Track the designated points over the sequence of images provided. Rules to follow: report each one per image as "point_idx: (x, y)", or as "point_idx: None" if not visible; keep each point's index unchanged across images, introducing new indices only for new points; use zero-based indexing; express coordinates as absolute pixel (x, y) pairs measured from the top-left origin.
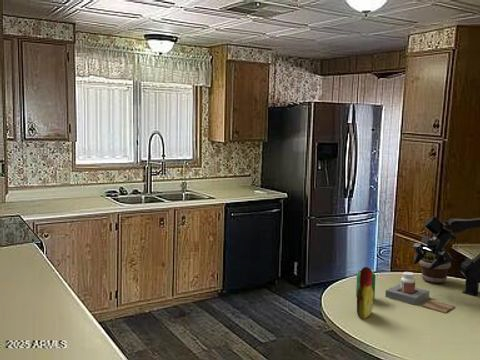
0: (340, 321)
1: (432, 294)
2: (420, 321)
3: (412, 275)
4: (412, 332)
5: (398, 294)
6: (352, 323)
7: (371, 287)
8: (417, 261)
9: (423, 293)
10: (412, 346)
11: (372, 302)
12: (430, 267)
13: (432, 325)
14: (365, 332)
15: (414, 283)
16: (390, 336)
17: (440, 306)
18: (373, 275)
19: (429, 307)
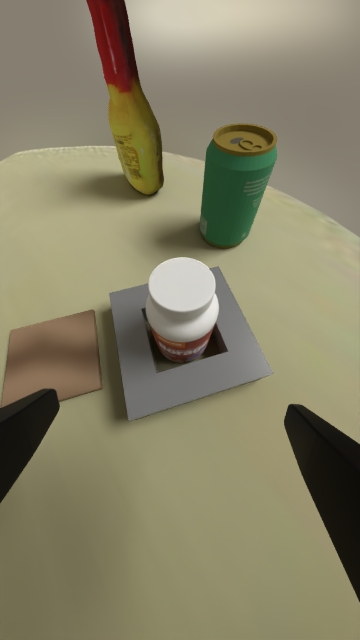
0: None
1: (155, 482)
2: (45, 241)
3: (148, 284)
4: (33, 200)
5: None
6: None
7: (113, 100)
8: (320, 489)
9: (123, 361)
10: (9, 174)
11: (124, 157)
12: (24, 398)
13: (13, 245)
14: (90, 158)
15: (147, 318)
16: (54, 172)
17: (43, 357)
18: (213, 149)
19: (66, 316)
